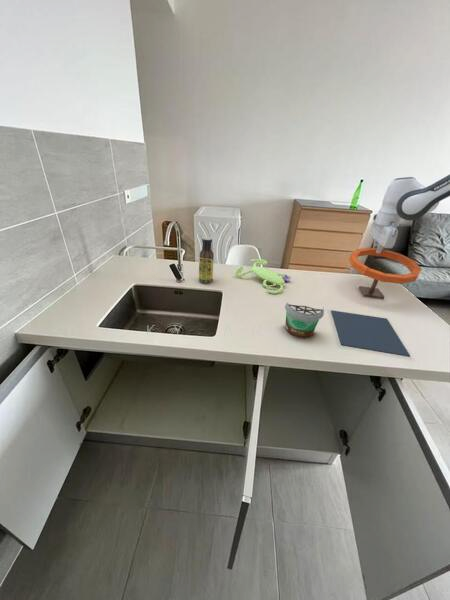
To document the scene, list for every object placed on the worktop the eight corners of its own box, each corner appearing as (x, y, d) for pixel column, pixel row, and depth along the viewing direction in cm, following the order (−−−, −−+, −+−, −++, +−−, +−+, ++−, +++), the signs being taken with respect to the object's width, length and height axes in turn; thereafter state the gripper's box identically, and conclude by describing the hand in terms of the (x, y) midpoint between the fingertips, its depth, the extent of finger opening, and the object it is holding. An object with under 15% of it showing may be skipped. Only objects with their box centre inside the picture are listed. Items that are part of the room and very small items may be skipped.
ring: (403, 256, 109) (406, 251, 107) (428, 287, 89) (432, 281, 88) (345, 250, 113) (346, 245, 111) (356, 278, 93) (358, 272, 92)
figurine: (255, 265, 128) (257, 255, 125) (299, 284, 112) (301, 273, 109) (230, 274, 117) (231, 263, 115) (274, 296, 101) (276, 284, 98)
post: (377, 290, 110) (386, 270, 105) (383, 299, 104) (393, 278, 98) (358, 288, 112) (366, 267, 106) (363, 296, 105) (372, 275, 100)
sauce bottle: (197, 283, 108) (196, 239, 98) (201, 277, 113) (201, 235, 103) (211, 285, 107) (212, 241, 97) (214, 279, 112) (215, 236, 102)
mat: (386, 319, 91) (386, 318, 91) (409, 356, 74) (410, 355, 74) (330, 311, 94) (331, 310, 94) (341, 345, 77) (341, 344, 77)
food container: (279, 336, 79) (285, 311, 74) (280, 325, 84) (285, 301, 79) (319, 343, 77) (327, 318, 72) (317, 332, 82) (325, 307, 77)
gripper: (406, 226, 93) (392, 260, 100) (387, 215, 110) (376, 245, 117) (388, 225, 94) (375, 258, 101) (372, 214, 111) (362, 243, 118)
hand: (376, 251), depth 109 cm, fingers closed on ring, 2 cm apart
